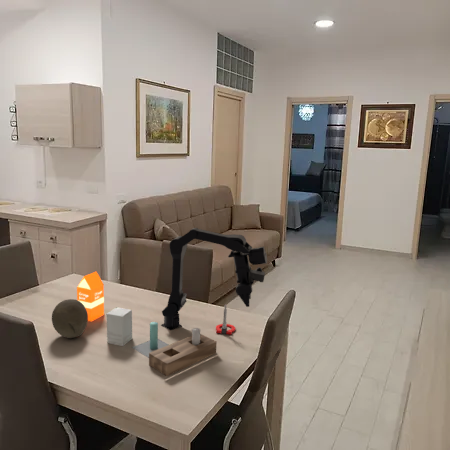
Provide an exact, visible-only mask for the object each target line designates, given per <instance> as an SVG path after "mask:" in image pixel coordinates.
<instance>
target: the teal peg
mask: <svg viewBox="0 0 450 450" xmlns="http://www.w3.org/2000/svg"><path fill="white" fill-rule="evenodd" d="M158 334H159V323H158V322H157V321H151V322H150V323H149V341H150V349H151V350H155V349H157V348H158V339H159V338H158V337H159V335H158Z"/></svg>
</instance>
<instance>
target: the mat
mask: <svg viewBox="0 0 450 450" xmlns="http://www.w3.org/2000/svg"><path fill="white" fill-rule="evenodd" d="M168 345H170V344H169V343H167V342H165V341H163V340H161V339H160V338H158V348H157V349H155V350H158V349H160V348H163V347H165V346H168ZM131 348H132V349H133V350H135V351H136V352H139V353H140V354H141V355H143V356H145V357H147V358H148V359H149V353H150V352H153V351H155V350H151V349H150V340H148V341H145V342H141V343H139V344H137V345H134V346H131Z"/></svg>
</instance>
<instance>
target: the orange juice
mask: <svg viewBox="0 0 450 450" xmlns="http://www.w3.org/2000/svg"><path fill="white" fill-rule="evenodd" d="M104 288H105V287H104V283H103V281H102V279H101V277H100V274H98V272H97V271H93V272H92V273H89V274H85V275H84V276H83V277H82V279H81V280H80V282H79V283H78V285H77V287H76V300H78V301H80V302H81V303H82V304H83V305H84V306H85V308H86V310H87V313H88V322H93V321H95V320H97V319H99V318H101V317H102V316H104V315H105V296H104V295H105V294H104V290H105V289H104Z"/></svg>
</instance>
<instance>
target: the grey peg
mask: <svg viewBox="0 0 450 450" xmlns="http://www.w3.org/2000/svg"><path fill="white" fill-rule="evenodd" d="M191 330H192V331H191V336H192V344H193V345H195V346H197V345H199V344H200V334H201V328H199V327H193V328H192V329H191Z"/></svg>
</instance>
